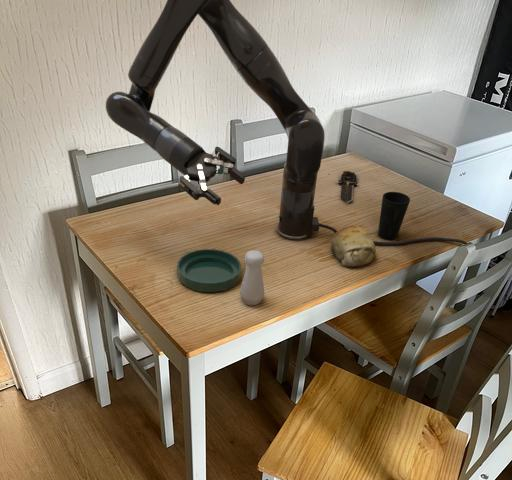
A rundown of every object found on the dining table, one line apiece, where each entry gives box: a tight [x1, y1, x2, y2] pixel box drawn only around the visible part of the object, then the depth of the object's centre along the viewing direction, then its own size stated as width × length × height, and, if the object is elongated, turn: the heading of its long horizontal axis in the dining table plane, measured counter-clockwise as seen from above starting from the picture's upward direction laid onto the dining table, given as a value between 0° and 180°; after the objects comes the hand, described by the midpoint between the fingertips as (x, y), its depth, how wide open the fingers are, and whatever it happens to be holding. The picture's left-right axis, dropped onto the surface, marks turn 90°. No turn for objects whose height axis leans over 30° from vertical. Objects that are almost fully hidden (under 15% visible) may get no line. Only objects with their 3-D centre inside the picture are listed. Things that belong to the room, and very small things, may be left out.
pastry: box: [330, 225, 377, 268], centre depth 146 cm, size 14×12×8 cm
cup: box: [377, 191, 411, 241], centre depth 155 cm, size 8×8×12 cm
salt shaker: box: [239, 249, 266, 306], centre depth 125 cm, size 6×6×13 cm
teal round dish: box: [176, 248, 242, 293], centre depth 136 cm, size 16×16×3 cm
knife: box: [337, 170, 358, 204], centre depth 182 cm, size 25×6×1 cm, turn 165°
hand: (232, 191), depth 123 cm, fingers open, 8 cm apart
